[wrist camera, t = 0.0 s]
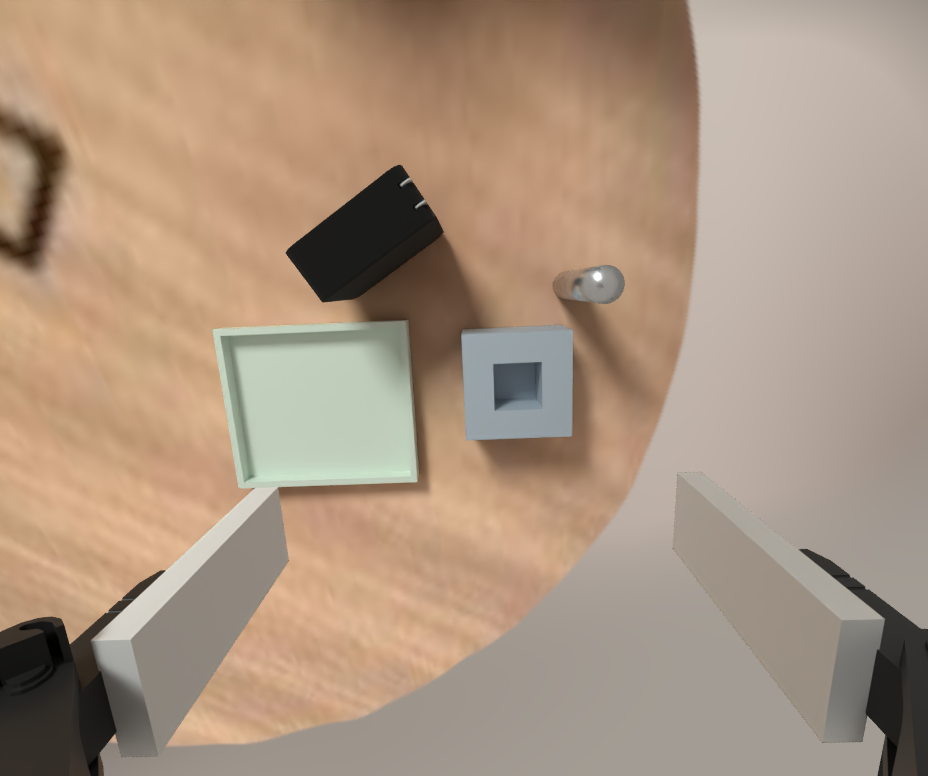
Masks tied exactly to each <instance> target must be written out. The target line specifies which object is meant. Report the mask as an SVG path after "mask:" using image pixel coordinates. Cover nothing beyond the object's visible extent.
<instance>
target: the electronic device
mask: <svg viewBox="0 0 928 776" xmlns="http://www.w3.org/2000/svg"><path fill="white" fill-rule="evenodd" d="M443 232H444V231H443V229H442V227H441V225H440V223H439V221H438V219H437V217H436V216H435V214H434V213H433V211H432V210H431V208H430V207H429V205H428V204H427V202H426V201H425V199H424V198H423V196H422V195H421V193H420V192H419V190H418V189H417V187H416V186H415V184H414V183H413V182H412V180H411V179H410V177H409V176H408V174H407V173H406V171H405V170H404V168H403V167H402V165H397V166H394V167H393V168H391V169H390V170H388V171H387V172H386V173H384V174H383V175H382V176H380V177H379V178H378V179H377V180H375V181H374V182H373V183H372V184H370V185H369V186H368V187H366V188H365V189H364V190H363V191H361V192H360V193H359V194H357V195H356V196H355V197H354V198H352V199H351V200H350V201H348V202H347V203H346V204H345V205H343V206H342V207H341V208H339V209H338V210H337V211H336V212H334V213H333V214H332V215H330V216H329V217H328V218H327V219H325V220H324V221H323V222H321V223H320V224H319V225H318V226H316V227H315V228H314V229H313V230H311V231H310V232H309V233H307V234H306V235H305V236H304V237H302V238H301V239H300V240H298V241H297V242H296V243H295V244H293V245H292V246H291V247H290V248H289V249H288V250H287V252H286V254H287V256H288V257H289V258H290V260H291V261H292V262H293V264H294V265H295V266H296V268H297V269H298V270H299V272H300V273H301V274H302V276H303V277H304V278H305V280H306V281H307V282H308V284H309V285H310V286H311V288H312V289H313V290H314V292H315V293H316V294H317V296H318V297H319V298H320V300H321V301H322V302H332V301H341V300H351V299H354V298H357V297H359V296H360V295H362V294H363V293H365V292H366V291H367V290H369V289H370V288H371V287H373V286H374V285H375V284H377V283H378V282H380V281H381V280H382V279H384V278H385V277H386V276H388V275H389V274H390V273H392V272H393V271H394V270H396V269H397V268H398V267H400V266H401V265H403V264H404V263H405V262H407V261H408V260H409V259H411V258H412V257H413V256H415V255H416V254H417V253H419V252H420V251H421V250H423V249H424V248H426V247H427V246H428V245H430V244H431V243H432V242H434V241H435V240H436V239H438V238H439V237H440V236H441V235H442V233H443Z"/></svg>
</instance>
